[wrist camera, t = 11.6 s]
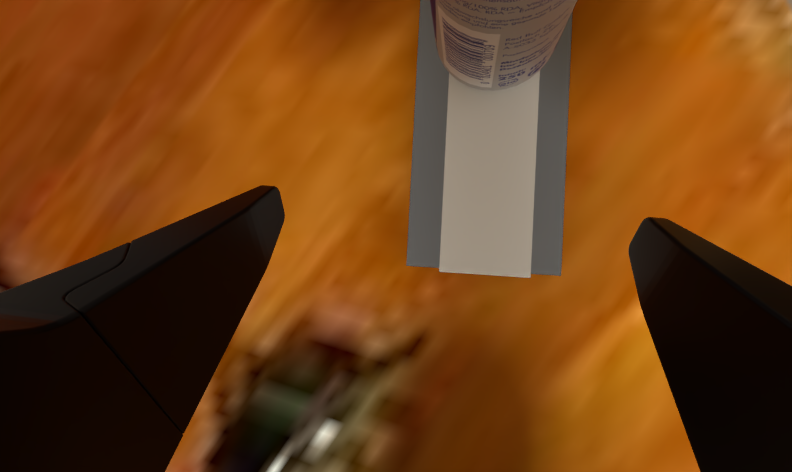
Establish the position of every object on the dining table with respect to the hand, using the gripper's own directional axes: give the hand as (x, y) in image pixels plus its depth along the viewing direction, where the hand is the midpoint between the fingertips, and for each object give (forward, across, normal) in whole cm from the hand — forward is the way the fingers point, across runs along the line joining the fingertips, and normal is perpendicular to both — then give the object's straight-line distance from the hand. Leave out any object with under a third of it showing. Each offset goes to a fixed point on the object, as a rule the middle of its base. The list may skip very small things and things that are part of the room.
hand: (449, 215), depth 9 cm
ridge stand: (+13, -2, +3) cm, 13 cm away
